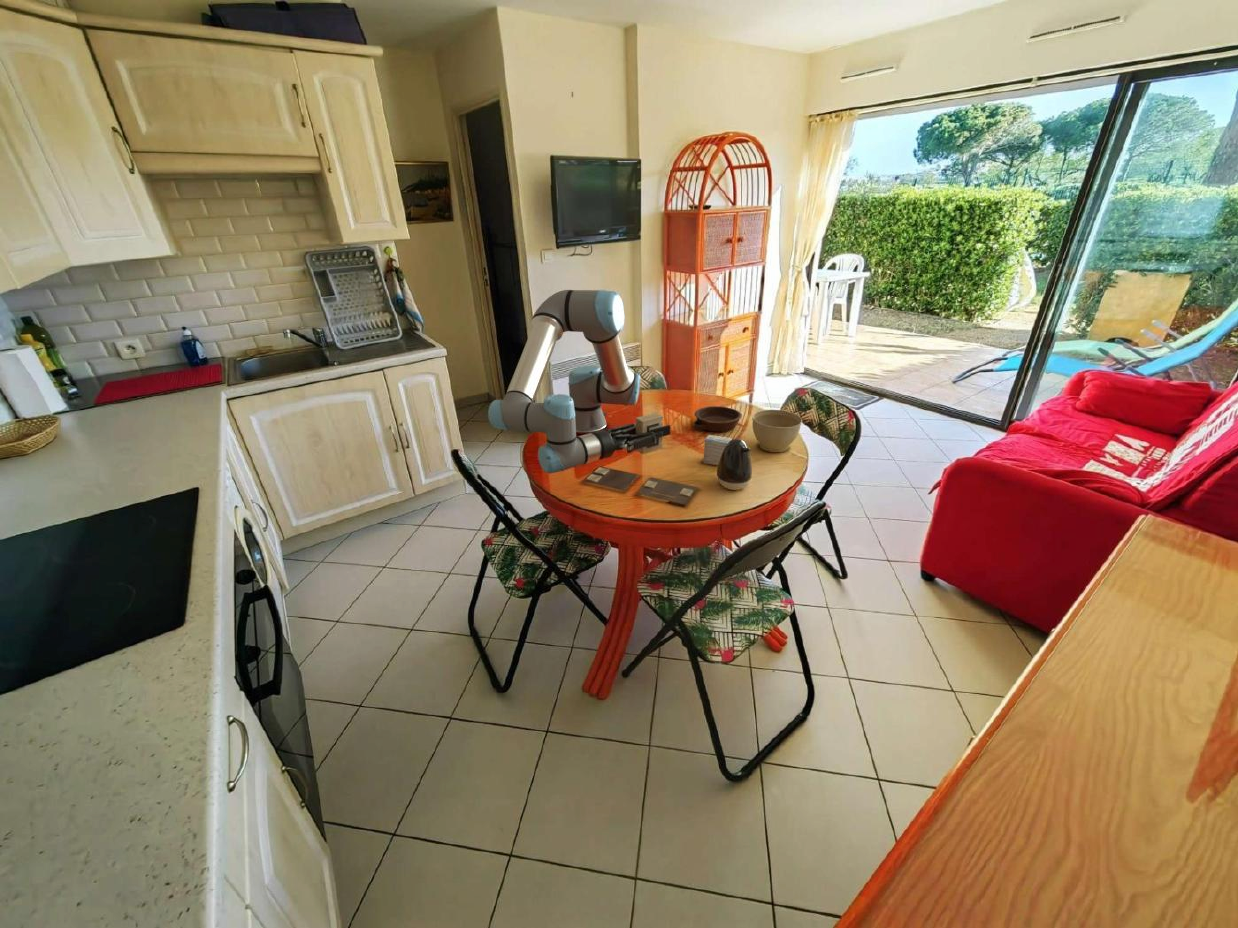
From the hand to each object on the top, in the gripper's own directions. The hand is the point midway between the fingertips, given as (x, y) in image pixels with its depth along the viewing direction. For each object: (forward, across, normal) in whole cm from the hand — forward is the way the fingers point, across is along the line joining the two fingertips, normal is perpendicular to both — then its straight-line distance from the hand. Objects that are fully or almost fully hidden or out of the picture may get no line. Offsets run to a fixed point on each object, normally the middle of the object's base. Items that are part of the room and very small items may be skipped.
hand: (664, 427), depth 147 cm
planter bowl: (+47, +2, -18) cm, 50 cm away
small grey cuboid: (-5, 0, -6) cm, 8 cm away
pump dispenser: (+16, +14, -18) cm, 28 cm away
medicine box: (+22, 0, -18) cm, 29 cm away
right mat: (-3, +6, -18) cm, 19 cm away
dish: (+45, -24, -18) cm, 54 cm away
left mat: (-12, -10, -18) cm, 24 cm away
